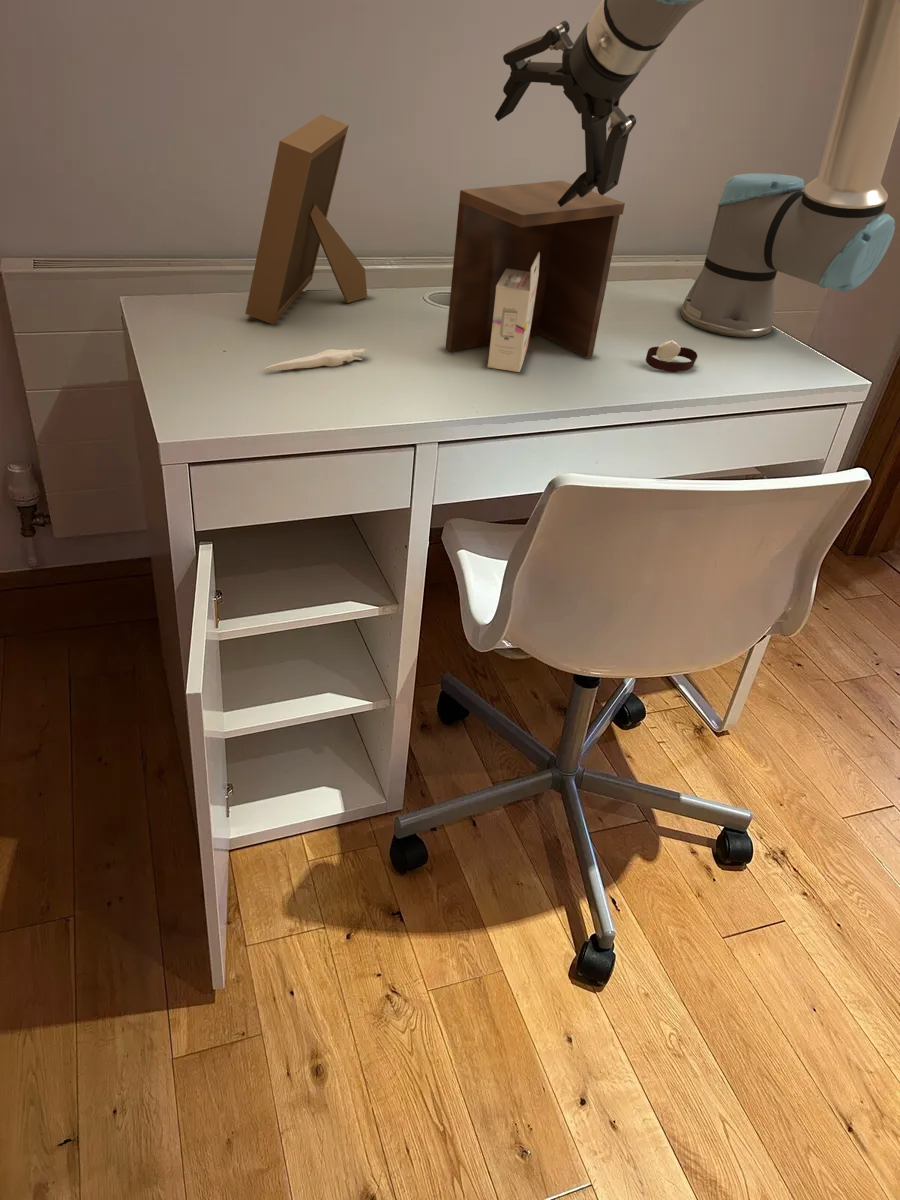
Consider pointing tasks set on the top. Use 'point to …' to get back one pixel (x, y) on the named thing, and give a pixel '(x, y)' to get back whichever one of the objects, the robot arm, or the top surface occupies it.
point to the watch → (670, 357)
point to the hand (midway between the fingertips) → (535, 157)
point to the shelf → (532, 260)
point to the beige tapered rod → (320, 359)
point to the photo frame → (302, 222)
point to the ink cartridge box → (513, 317)
